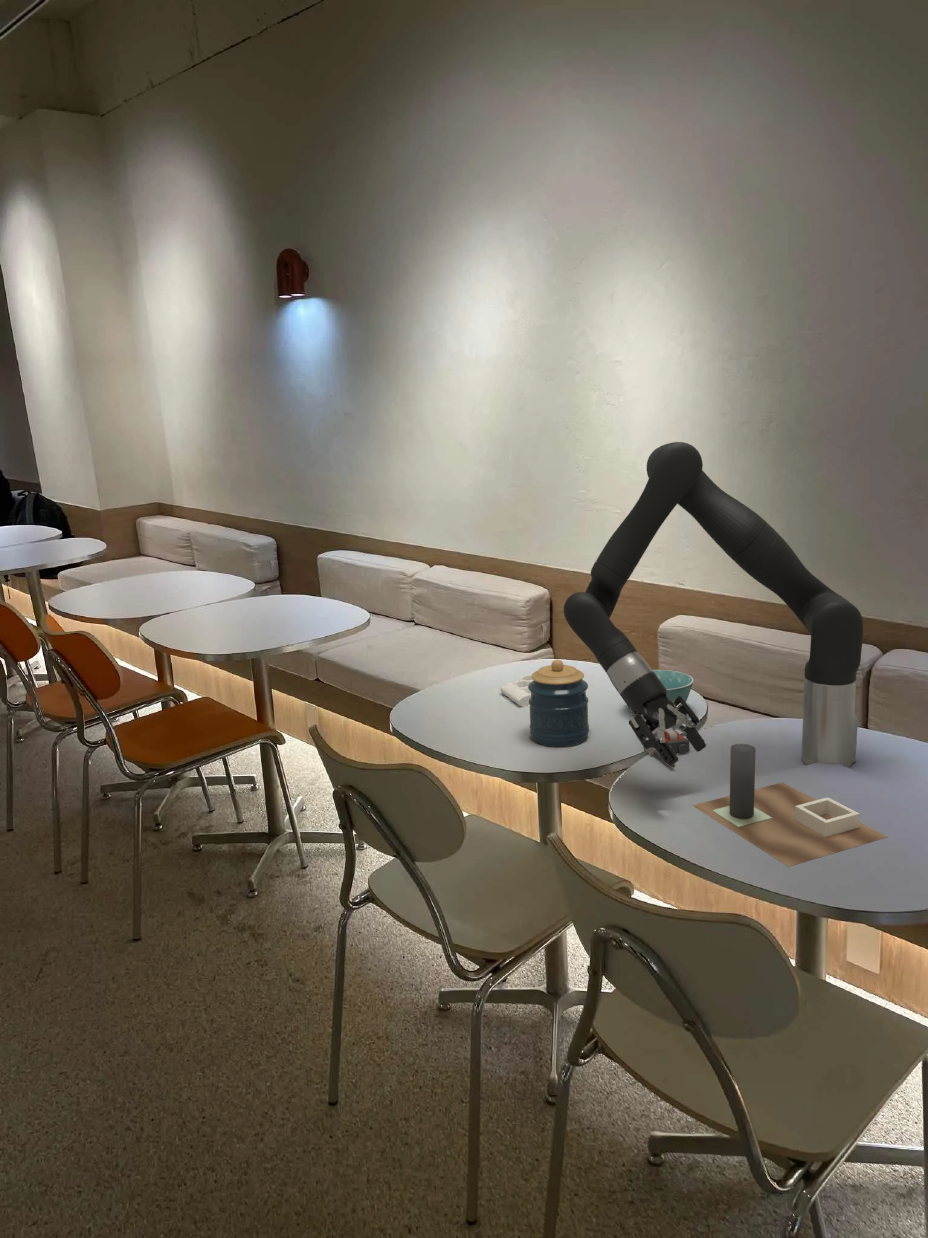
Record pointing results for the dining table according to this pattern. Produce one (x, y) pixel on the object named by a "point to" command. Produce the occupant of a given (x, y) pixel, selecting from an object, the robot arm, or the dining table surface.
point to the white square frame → (840, 823)
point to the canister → (558, 705)
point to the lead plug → (742, 781)
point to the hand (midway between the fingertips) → (688, 756)
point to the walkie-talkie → (671, 744)
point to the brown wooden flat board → (785, 826)
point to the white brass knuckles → (518, 690)
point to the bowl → (675, 683)
